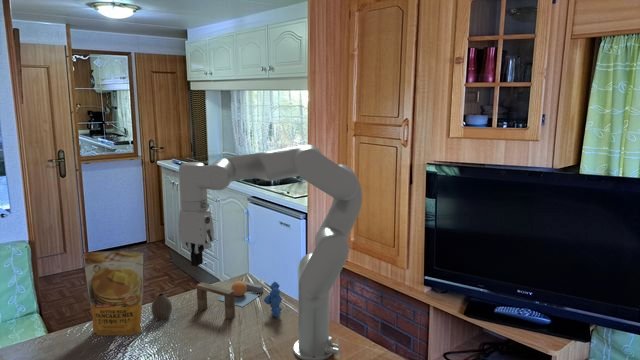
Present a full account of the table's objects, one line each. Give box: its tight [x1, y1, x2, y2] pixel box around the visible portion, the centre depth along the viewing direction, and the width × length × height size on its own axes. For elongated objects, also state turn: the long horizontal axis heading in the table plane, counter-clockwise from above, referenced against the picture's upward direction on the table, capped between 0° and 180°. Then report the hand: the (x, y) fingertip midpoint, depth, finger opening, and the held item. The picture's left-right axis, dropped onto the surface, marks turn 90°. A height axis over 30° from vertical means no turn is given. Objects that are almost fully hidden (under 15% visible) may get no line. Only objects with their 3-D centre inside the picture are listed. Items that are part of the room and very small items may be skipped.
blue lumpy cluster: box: [263, 281, 283, 318], centre depth 164 cm, size 12×7×12 cm, turn 12°
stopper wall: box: [242, 280, 264, 294], centre depth 184 cm, size 10×2×2 cm, turn 62°
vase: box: [150, 292, 173, 321], centre depth 162 cm, size 7×7×9 cm
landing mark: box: [217, 293, 261, 308], centre depth 178 cm, size 12×12×1 cm
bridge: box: [196, 281, 236, 320], centre depth 165 cm, size 3×15×10 cm, turn 62°
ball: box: [230, 280, 248, 297], centre depth 179 cm, size 6×6×6 cm
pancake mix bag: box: [81, 250, 146, 337], centre depth 150 cm, size 7×19×28 cm, turn 92°
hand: (197, 264), depth 135 cm, fingers closed
